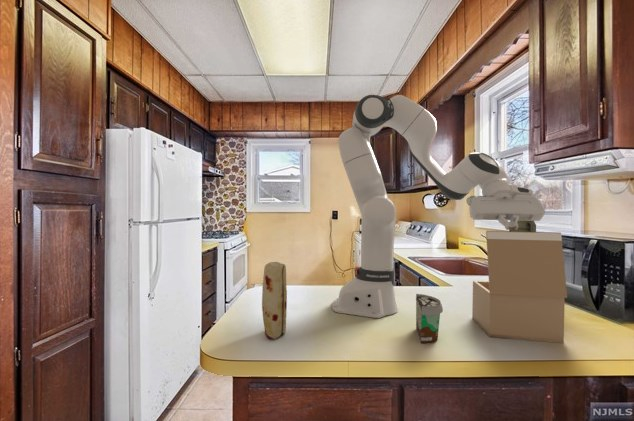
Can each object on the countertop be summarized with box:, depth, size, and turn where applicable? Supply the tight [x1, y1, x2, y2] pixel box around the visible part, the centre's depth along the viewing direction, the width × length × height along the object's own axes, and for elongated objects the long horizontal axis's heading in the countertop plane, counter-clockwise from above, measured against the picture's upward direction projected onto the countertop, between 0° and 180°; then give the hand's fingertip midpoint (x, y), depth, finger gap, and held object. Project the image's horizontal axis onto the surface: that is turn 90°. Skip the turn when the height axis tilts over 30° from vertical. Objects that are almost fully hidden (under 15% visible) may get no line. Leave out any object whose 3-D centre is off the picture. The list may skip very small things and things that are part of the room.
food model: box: [261, 261, 288, 340], centre depth 82 cm, size 10×7×20 cm
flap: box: [485, 230, 568, 299], centre depth 81 cm, size 18×17×1 cm
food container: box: [415, 293, 444, 345], centre depth 82 cm, size 12×6×10 cm, turn 168°
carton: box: [471, 280, 566, 344], centre depth 87 cm, size 18×14×12 cm
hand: (512, 228), depth 88 cm, fingers closed
